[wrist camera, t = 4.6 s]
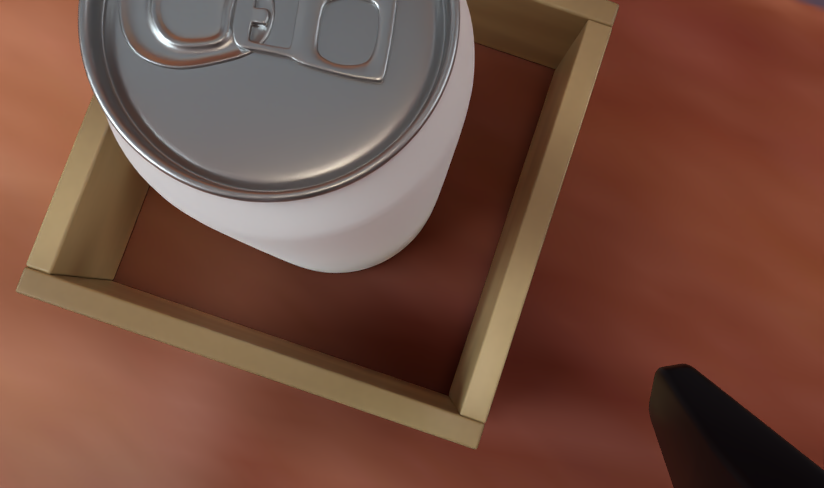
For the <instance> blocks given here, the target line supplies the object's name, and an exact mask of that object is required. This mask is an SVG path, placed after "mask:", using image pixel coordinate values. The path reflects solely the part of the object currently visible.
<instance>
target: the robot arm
mask: <svg viewBox="0 0 824 488" xmlns="http://www.w3.org/2000/svg"><path fill="white" fill-rule="evenodd" d="M649 412H650V418H651V421H652V424H653V427H654V430H655V433H656V436H657V439H658V442H659V445H660V448H661V451H662V454H663V457H664V460H665V463H666V466H667V469H668V472H669V475H670V478H671V481H672V484H673V487H674V488H824V470H823V469H821V468H820V467H819V466H818V465H816V464H815V463H814V462H813V461H811V460H810V459H809V458H808V457H806V456H805V455H804V454H802V453H801V452H800V451H799V450H797V449H796V448H795V447H794V446H792V445H791V444H790V443H789V442H787V441H786V440H785V439H783V438H782V437H781V436H780V435H778V434H777V433H776V432H775V431H773V430H772V429H771V428H770V427H768V426H767V425H766V424H764V423H763V422H762V421H761V420H759V419H758V418H757V417H756V416H754V415H753V414H752V413H751V412H749V411H748V410H747V409H745V408H744V407H743V406H742V405H740V404H739V403H738V402H737V401H735V400H734V399H733V398H732V397H730V396H729V395H728V394H726V393H725V392H724V391H723V390H721V389H720V388H719V387H718V386H716V385H715V384H714V383H713V382H711V381H710V380H709V379H707V378H706V377H705V376H704V375H702V374H701V373H700V372H699V371H697V370H696V369H695V368H693V367H692V366H690V365H687V364H677V365H671V366H665V367H660V368H659V369H658V370H657V371H656V373H655V377H654V382H653V387H652V392H651V397H650V402H649Z"/></svg>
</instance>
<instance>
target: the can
mask: <svg viewBox="0 0 824 488" xmlns="http://www.w3.org/2000/svg"><path fill="white" fill-rule="evenodd" d="M78 34H79V43H80V50H81V55H82V60H83V64H84V68H85V71H86V74H87V77H88V80H89V83H90V85H91V88H92V90H93V93H94V95H95V97H96V99H97V101H98V103H99V105H100V106H101V108H102V110H103V112H104V113H105V115H106V117H107V120H108V123H109V125H110V128H111V130H112V132H113V134H114V136H115V138H116V140H117V142H118V144H119V146H120V147H121V149H122V151H123V152H124V154H125V155H126V157H127V158H128V160H129V161H130V163H131V164H132V165H133V167H134V168H135V169H136V170H137V171H138V173H139V174H140V175H141V176H142V177H143V178H144V179H145V180H146V182H147V183H148V184H149V185H150V186H152V187H153V188H154V189H155V190H156V191H157V192H158V193H159V194H160V195H161V196H162V197H164V198H165V199H166V200H167V201H168V202H170V203H171V204H172V205H174V206H175V207H176V208H178V209H179V210H181V211H182V212H184V213H185V214H187V215H189V216H190V217H192V218H194V219H196V220H197V221H199V222H201V223H203V224H204V225H206V226H208V227H210V228H212V229H214V230H217V231H219V232H221V233H223V234H225V235H227V236H229V237H232V238H234V239H236V240H238V241H240V242H243V243H245V244H247V245H249V246H252V247H254V248H256V249H258V250H261V251H263V252H265V253H267V254H270V255H272V256H274V257H277V258H279V259H282V260H284V261H286V262H289V263H291V264H294V265H297V266H299V267H302V268H306V269H310V270H314V271H319V272H326V273H347V272H354V271H359V270H363V269H367V268H370V267H373V266H375V265H378V264H380V263H382V262H384V261H386V260H388V259H390V258H391V257H393V256H395V255H396V254H397V253H399V252H400V251H401V250H403V249H404V248H405V247H406V246H407V245H408V244H409V243H411V241H412V240H413V239H414V238H415V237H416V236H417V235H418V234H419V232H420V231H421V230H422V228H423V227H424V225H425V224H426V222H427V220H428V218H429V217H430V215H431V213H432V211H433V208H434V206H435V204H436V201H437V199H438V196H439V193H440V191H441V188H442V185H443V183H444V180H445V177H446V174H447V171H448V169H449V166H450V163H451V160H452V157H453V154H454V151H455V148H456V146H457V143H458V140H459V137H460V134H461V130H462V127H463V124H464V121H465V118H466V114H467V110H468V106H469V102H470V97H471V92H472V87H473V79H474V62H475V50H474V35H473V27H472V22H471V17H470V12H469V8H468V5H467V2H466V0H79V7H78Z"/></svg>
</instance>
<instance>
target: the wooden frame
mask: <svg viewBox="0 0 824 488" xmlns="http://www.w3.org/2000/svg"><path fill="white" fill-rule="evenodd" d="M466 2H467V5H468V8H469V12H470V17H471V22H472V27H473V35H474V42H476V43H479V44H482V45H485V46H488V47H491V48H494V49H497V50H500V51H503V52H506V53H509V54H511V55H514V56H517V57H520V58H523V59H526V60H529V61H532V62H535V63H538V64H541V65H544V66H547V67H550V68H553V69H556V70H555V71H554V74H553V77H552V80H551V83H550V86H549V89H548V93H547V96H546V99H545V102H544V105H543V108H542V111H541V114H540V117H539V120H538V123H537V126H536V129H535V132H534V135H533V138H532V141H531V144H530V147H529V150H528V153H527V157H526V160H525V163H524V166H523V169H522V172H521V175H520V178H519V181H518V184H517V187H516V190H515V193H514V196H513V199H512V202H511V205H510V208H509V211H508V214H507V217H506V221H505V224H504V227H503V230H502V233H501V236H500V239H499V242H498V245H497V248H496V251H495V254H494V257H493V260H492V263H491V266H490V269H489V272H488V275H487V278H486V281H485V285H484V288H483V291H482V294H481V297H480V300H479V303H478V306H477V309H476V312H475V315H474V318H473V321H472V324H471V327H470V330H469V333H468V336H467V339H466V342H465V346H464V349H463V352H462V355H461V358H460V361H459V364H458V367H457V370H456V373H455V376H454V379H453V382H452V385H451V388H450V391H449V396H447V395H444V394H441V393H439V392H436V391H433V390H430V389H427V388H424V387H421V386H418V385H415V384H412V383H409V382H406V381H403V380H400V379H398V378H395V377H392V376H389V375H386V374H383V373H380V372H377V371H374V370H371V369H368V368H365V367H362V366H360V365H357V364H354V363H351V362H348V361H345V360H342V359H339V358H336V357H333V356H330V355H327V354H324V353H322V352H319V351H316V350H313V349H310V348H307V347H304V346H301V345H298V344H295V343H292V342H289V341H286V340H283V339H281V338H278V337H275V336H272V335H269V334H266V333H263V332H260V331H257V330H254V329H251V328H248V327H245V326H243V325H240V324H237V323H234V322H231V321H228V320H225V319H222V318H219V317H216V316H213V315H210V314H207V313H205V312H202V311H199V310H196V309H193V308H190V307H187V306H184V305H181V304H178V303H175V302H172V301H169V300H167V299H164V298H161V297H158V296H155V295H152V294H149V293H146V292H143V291H140V290H137V289H134V288H131V287H128V286H126V285H123V284H120V283H117V282H114V281H111V280H113V279H114V277H115V274H116V272H117V269H118V266H119V264H120V261H121V258H122V256H123V253H124V251H125V248H126V245H127V243H128V240H129V238H130V235H131V232H132V230H133V227H134V225H135V222H136V219H137V217H138V214H139V211H140V209H141V206H142V204H143V201H144V198H145V196H146V193H147V191H148V188H149V184H148V183H147V182H146V180H145V179H144V178H143V177H142V176H141V175H140V174H139V173H138V171H137V170H136V169H135V168H134V167H133V165H132V164H131V163H130V161H129V160H128V158H127V157H126V155H125V154H124V152H123V151H122V149H121V147H120V146H119V144H118V142H117V140H116V138H115V136H114V134H113V132H112V130H111V128H110V125H109V123H108V120H107V117H106V115H105V113H104V112H103V110H102V108H101V106H100V105H99V103H98V101H97V99H96V97H95V95H93V97H92V100H91V102H90V105H89V107H88V110H87V112H86V115H85V117H84V120H83V122H82V125H81V127H80V130H79V132H78V135H77V138H76V140H75V143H74V145H73V148H72V150H71V153H70V155H69V158H68V160H67V163H66V165H65V168H64V170H63V173H62V175H61V178H60V180H59V183H58V185H57V188H56V190H55V193H54V195H53V198H52V200H51V203H50V206H49V208H48V211H47V213H46V216H45V218H44V221H43V223H42V226H41V228H40V231H39V233H38V236H37V238H36V241H35V243H34V246H33V248H32V251H31V253H30V256H29V258H28V261H27V266H28V267H25V269H24V271H23V273H22V276H21V278H20V281H19V283H18V286H17V288H16V292H17V293H20V294H23V295H26V296H28V297H31V298H34V299H37V300H40V301H43V302H46V303H49V304H52V305H55V306H58V307H61V308H63V309H66V310H69V311H72V312H75V313H78V314H81V315H84V316H87V317H90V318H93V319H96V320H98V321H101V322H104V323H107V324H110V325H113V326H116V327H119V328H122V329H125V330H128V331H131V332H134V333H136V334H139V335H142V336H145V337H148V338H151V339H154V340H157V341H160V342H163V343H166V344H169V345H171V346H174V347H177V348H180V349H183V350H186V351H189V352H192V353H195V354H198V355H201V356H204V357H206V358H209V359H212V360H215V361H218V362H221V363H224V364H227V365H230V366H233V367H236V368H239V369H242V370H244V371H247V372H250V373H253V374H256V375H259V376H262V377H265V378H268V379H271V380H274V381H277V382H279V383H282V384H285V385H288V386H291V387H294V388H297V389H300V390H303V391H306V392H309V393H312V394H314V395H317V396H320V397H323V398H326V399H329V400H332V401H335V402H338V403H341V404H344V405H347V406H349V407H352V408H355V409H358V410H361V411H364V412H367V413H370V414H373V415H376V416H379V417H382V418H385V419H387V420H390V421H393V422H396V423H399V424H402V425H405V426H408V427H411V428H414V429H417V430H420V431H422V432H425V433H428V434H431V435H434V436H437V437H440V438H443V439H446V440H449V441H452V442H455V443H457V444H460V445H463V446H466V447H469V448H472V449H477V447H478V445H479V441H480V438H481V435H482V432H483V429H484V423H485V422H486V420H487V417H488V414H489V411H490V408H491V405H492V401H493V398H494V395H495V392H496V389H497V386H498V383H499V380H500V377H501V373H502V370H503V367H504V364H505V361H506V358H507V355H508V352H509V349H510V345H511V342H512V339H513V336H514V333H515V330H516V327H517V324H518V320H519V317H520V314H521V311H522V308H523V305H524V302H525V299H526V296H527V292H528V289H529V286H530V283H531V280H532V277H533V274H534V271H535V268H536V264H537V261H538V258H539V255H540V252H541V249H542V246H543V243H544V240H545V236H546V233H547V230H548V227H549V224H550V221H551V218H552V215H553V212H554V208H555V205H556V202H557V199H558V196H559V193H560V190H561V187H562V184H563V180H564V177H565V174H566V171H567V168H568V165H569V162H570V159H571V156H572V152H573V149H574V146H575V143H576V140H577V137H578V134H579V131H580V128H581V124H582V121H583V118H584V115H585V112H586V109H587V106H588V103H589V100H590V96H591V93H592V90H593V87H594V84H595V81H596V78H597V75H598V72H599V68H600V65H601V62H602V59H603V56H604V53H605V50H606V47H607V44H608V40H609V37H610V34H611V31H612V28H611V27H612V26H613V24H614V21H615V18H616V15H617V12H618V9H619V5H618V4H617V3H614V2H611V1H608V0H466Z"/></svg>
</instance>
